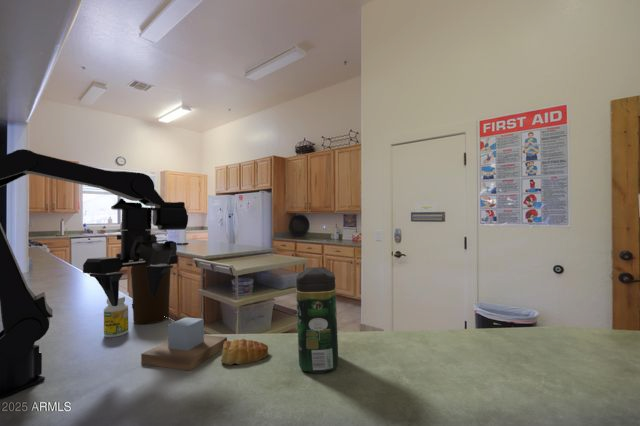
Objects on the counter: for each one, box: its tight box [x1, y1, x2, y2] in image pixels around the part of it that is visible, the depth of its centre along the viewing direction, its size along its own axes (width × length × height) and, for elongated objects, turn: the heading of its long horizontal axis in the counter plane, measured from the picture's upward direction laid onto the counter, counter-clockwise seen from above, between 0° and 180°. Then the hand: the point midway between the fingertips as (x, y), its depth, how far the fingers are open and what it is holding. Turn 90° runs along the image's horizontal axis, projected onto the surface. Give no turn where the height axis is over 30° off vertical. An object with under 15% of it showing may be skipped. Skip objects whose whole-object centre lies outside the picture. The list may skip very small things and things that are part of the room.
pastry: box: [220, 338, 269, 366], centre depth 63 cm, size 9×7×4 cm
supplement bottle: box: [103, 295, 129, 338], centre depth 80 cm, size 5×5×10 cm
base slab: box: [140, 334, 228, 372], centre depth 65 cm, size 12×12×2 cm
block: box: [167, 316, 205, 351], centre depth 65 cm, size 5×5×5 cm
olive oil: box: [130, 236, 172, 325], centre depth 92 cm, size 11×11×25 cm
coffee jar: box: [295, 266, 339, 374], centre depth 60 cm, size 10×8×19 cm
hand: (135, 301), depth 67 cm, fingers open, 9 cm apart
